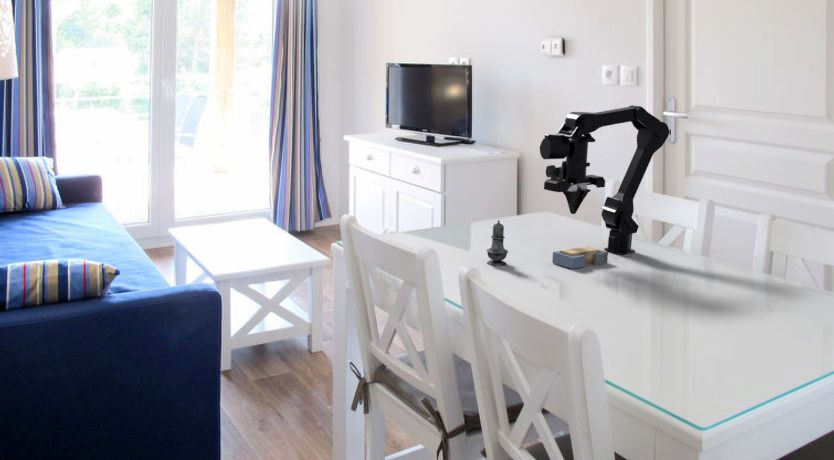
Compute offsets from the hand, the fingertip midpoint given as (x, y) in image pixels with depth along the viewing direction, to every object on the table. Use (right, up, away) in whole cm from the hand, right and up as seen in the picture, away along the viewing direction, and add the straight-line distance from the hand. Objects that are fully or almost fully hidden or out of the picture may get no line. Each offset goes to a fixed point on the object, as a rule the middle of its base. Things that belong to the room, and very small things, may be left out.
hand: (572, 213), depth 247 cm
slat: (0, -14, -6) cm, 15 cm away
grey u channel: (+5, -13, -3) cm, 14 cm away
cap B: (-3, -14, -8) cm, 17 cm away
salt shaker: (-22, -14, -8) cm, 27 cm away
